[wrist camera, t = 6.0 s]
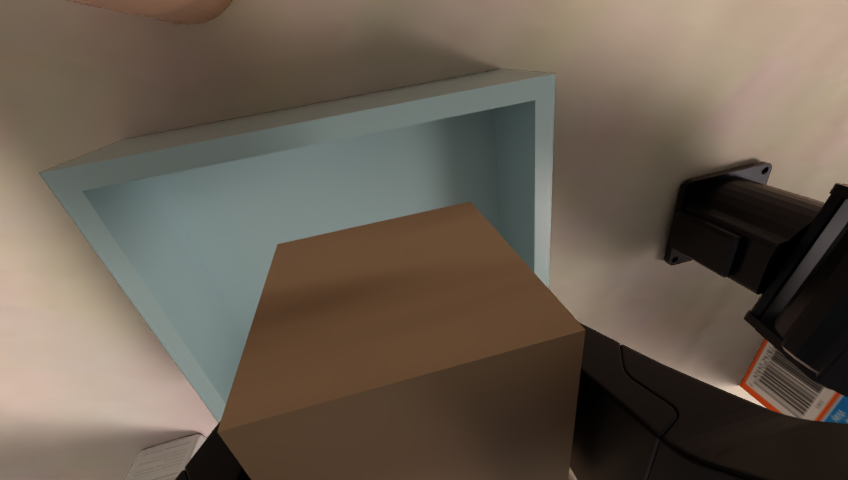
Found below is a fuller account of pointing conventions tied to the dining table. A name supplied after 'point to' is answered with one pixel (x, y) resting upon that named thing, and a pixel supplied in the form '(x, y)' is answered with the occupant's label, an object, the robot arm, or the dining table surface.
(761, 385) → the pasta box
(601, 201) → the dining table surface
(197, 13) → the terracotta cylinder
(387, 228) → the walnut cube
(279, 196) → the tote
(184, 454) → the skincare box
